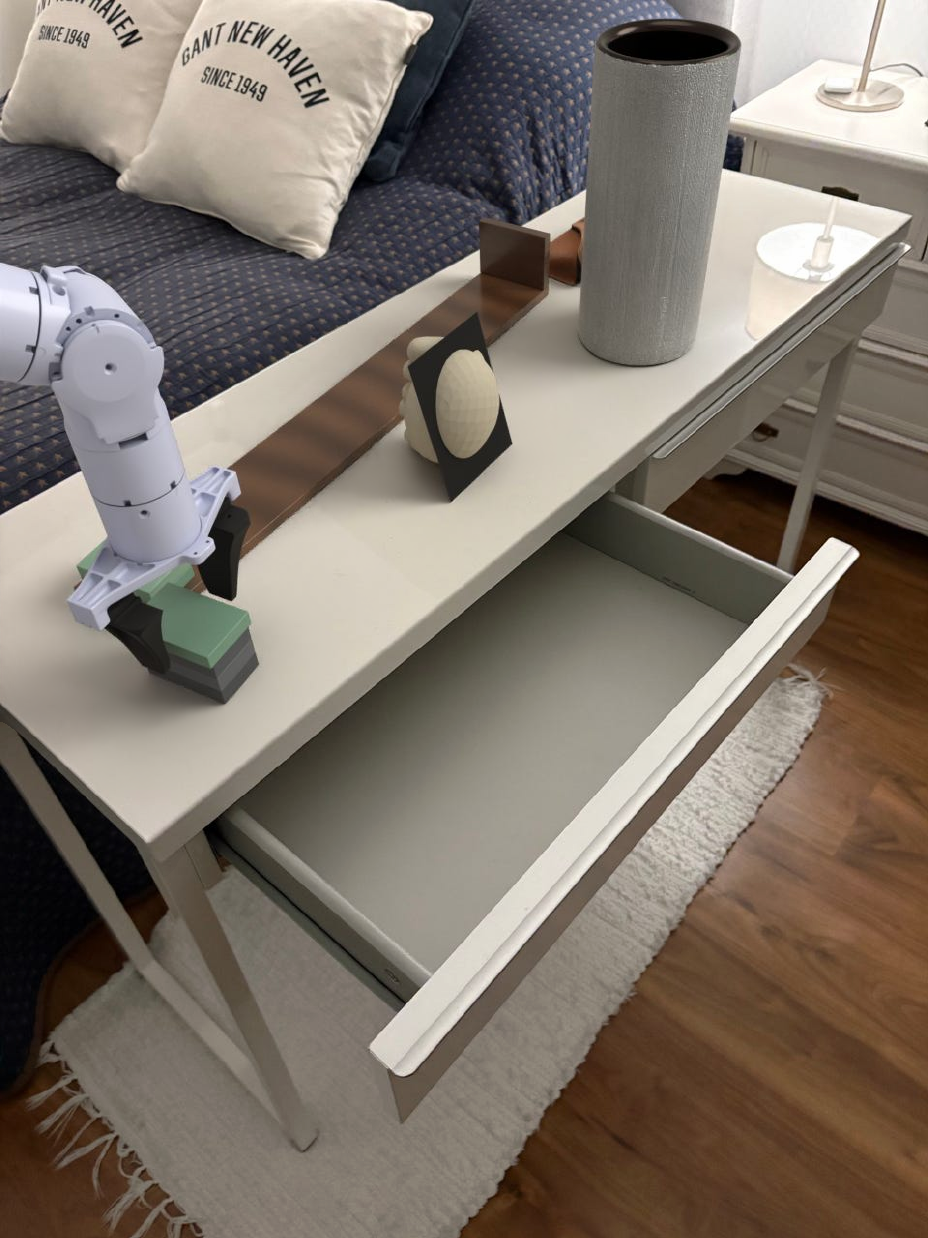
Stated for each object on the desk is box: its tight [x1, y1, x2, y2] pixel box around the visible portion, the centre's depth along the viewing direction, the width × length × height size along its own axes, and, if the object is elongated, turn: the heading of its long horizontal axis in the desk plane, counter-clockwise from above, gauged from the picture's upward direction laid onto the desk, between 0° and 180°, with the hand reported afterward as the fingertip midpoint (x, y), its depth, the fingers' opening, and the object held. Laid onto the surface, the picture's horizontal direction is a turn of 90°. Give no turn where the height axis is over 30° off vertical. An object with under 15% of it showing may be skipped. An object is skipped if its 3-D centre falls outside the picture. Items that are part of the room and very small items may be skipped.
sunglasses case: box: [549, 216, 585, 287], centre depth 114 cm, size 18×7×7 cm, turn 142°
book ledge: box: [73, 216, 551, 594], centre depth 90 cm, size 61×8×7 cm, turn 147°
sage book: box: [146, 582, 252, 669], centre depth 68 cm, size 5×7×1 cm, turn 63°
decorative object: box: [399, 312, 513, 503], centre depth 84 cm, size 13×10×10 cm
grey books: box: [146, 626, 260, 705], centre depth 70 cm, size 4×7×4 cm, turn 63°
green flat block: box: [75, 538, 195, 604], centre depth 76 cm, size 5×7×2 cm, turn 63°
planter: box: [578, 18, 742, 366], centre depth 91 cm, size 12×12×28 cm
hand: (190, 629), depth 68 cm, fingers open, 7 cm apart
